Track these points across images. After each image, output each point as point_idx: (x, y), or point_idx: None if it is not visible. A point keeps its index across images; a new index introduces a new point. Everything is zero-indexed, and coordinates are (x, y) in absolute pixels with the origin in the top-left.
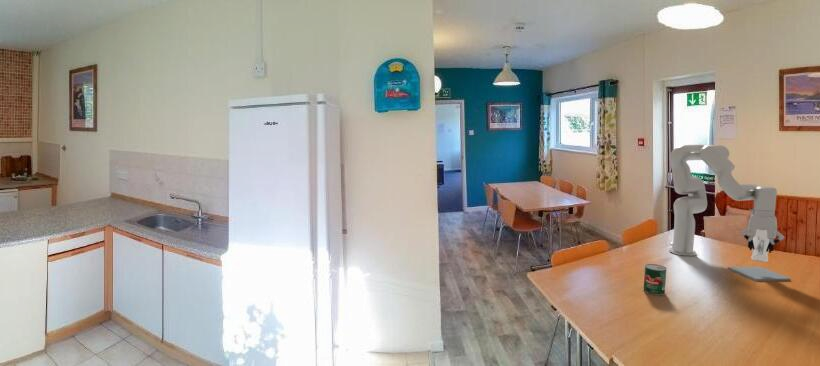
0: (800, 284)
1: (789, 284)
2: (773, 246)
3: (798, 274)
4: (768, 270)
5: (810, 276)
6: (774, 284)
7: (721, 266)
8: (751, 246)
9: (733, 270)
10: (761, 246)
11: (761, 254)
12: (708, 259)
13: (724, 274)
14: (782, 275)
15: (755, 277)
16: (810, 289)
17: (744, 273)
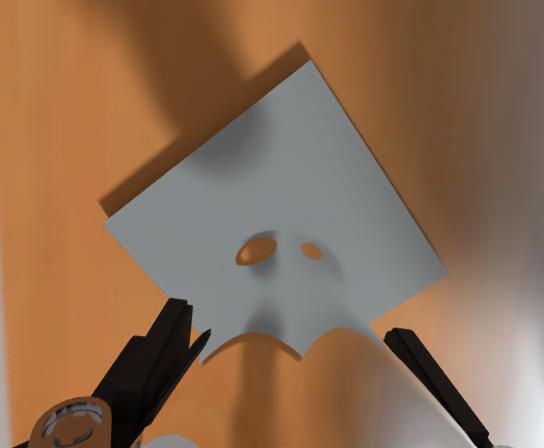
0: (58, 164)
1: (115, 120)
2: (100, 386)
3: (73, 379)
4: None
5: (19, 374)
6: (198, 57)
7: (466, 311)
8: (413, 363)
9: (418, 230)
10: (293, 307)
11: (276, 263)
12: (513, 424)
13: (485, 118)
14: (145, 266)
15: (306, 106)
16: (3, 75)
17: (364, 172)
